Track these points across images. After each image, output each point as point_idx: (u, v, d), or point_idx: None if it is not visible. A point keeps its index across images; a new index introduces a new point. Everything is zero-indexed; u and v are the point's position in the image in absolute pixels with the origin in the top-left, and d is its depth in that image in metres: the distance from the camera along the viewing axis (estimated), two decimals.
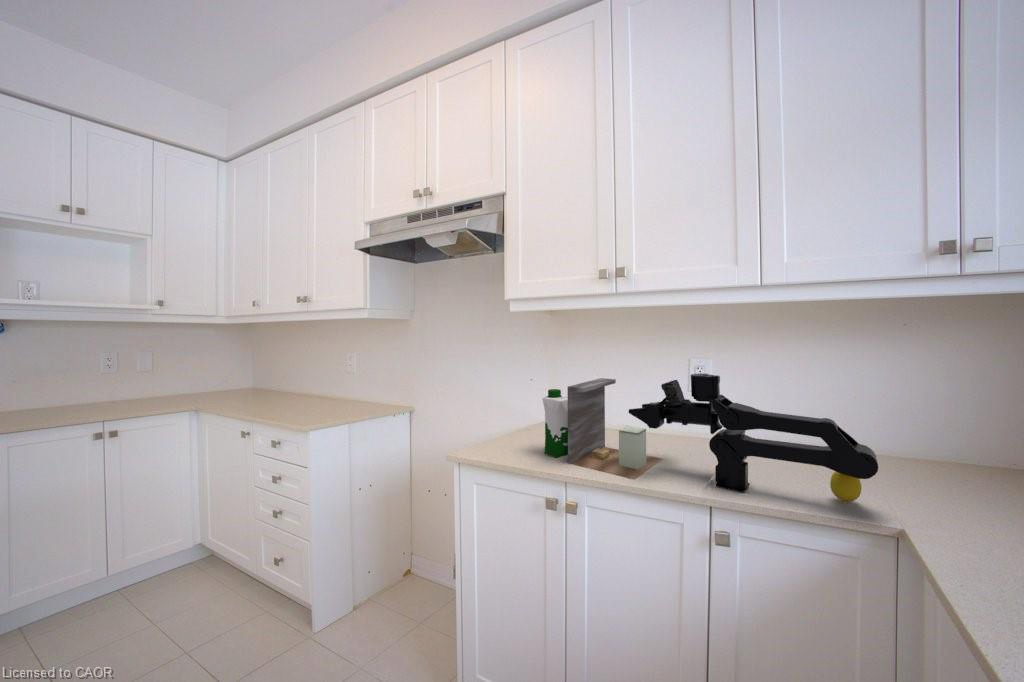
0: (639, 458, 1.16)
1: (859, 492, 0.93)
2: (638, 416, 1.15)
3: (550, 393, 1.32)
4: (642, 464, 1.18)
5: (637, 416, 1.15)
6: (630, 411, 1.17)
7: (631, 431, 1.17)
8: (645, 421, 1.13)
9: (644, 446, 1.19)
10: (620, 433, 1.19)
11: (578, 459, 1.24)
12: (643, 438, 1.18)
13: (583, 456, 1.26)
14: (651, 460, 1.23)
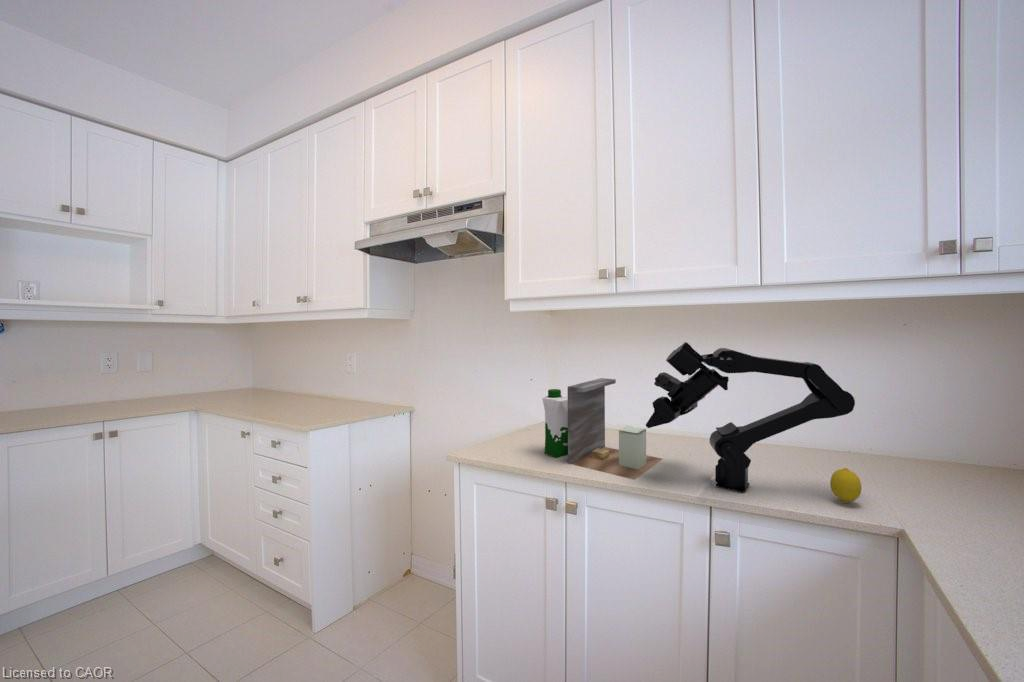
0: (639, 458, 1.16)
1: (859, 492, 0.93)
2: (656, 423, 1.09)
3: (550, 393, 1.32)
4: (642, 464, 1.18)
5: (655, 424, 1.09)
6: (647, 425, 1.11)
7: (631, 431, 1.17)
8: (664, 422, 1.07)
9: (644, 446, 1.19)
10: (620, 433, 1.19)
11: (578, 459, 1.24)
12: (643, 438, 1.18)
13: (583, 456, 1.26)
14: (651, 460, 1.23)
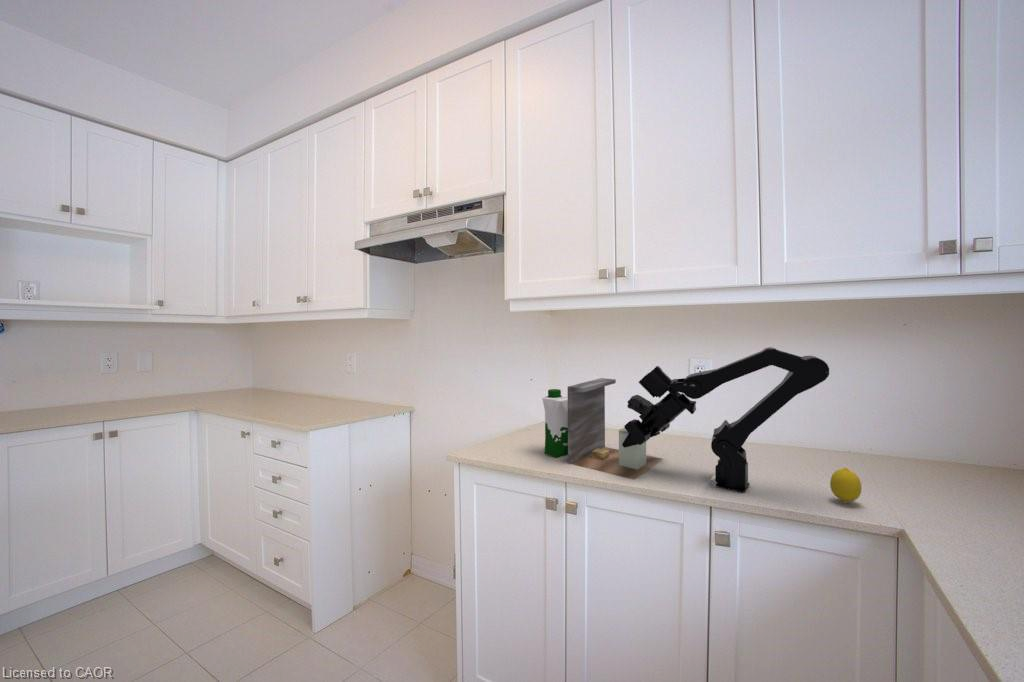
0: (639, 458, 1.16)
1: (859, 492, 0.93)
2: (631, 443, 1.15)
3: (550, 393, 1.32)
4: (642, 464, 1.18)
5: (631, 444, 1.15)
6: (624, 445, 1.18)
7: None
8: None
9: (644, 446, 1.19)
10: (620, 433, 1.19)
11: (578, 459, 1.24)
12: None
13: (583, 456, 1.26)
14: (651, 460, 1.23)
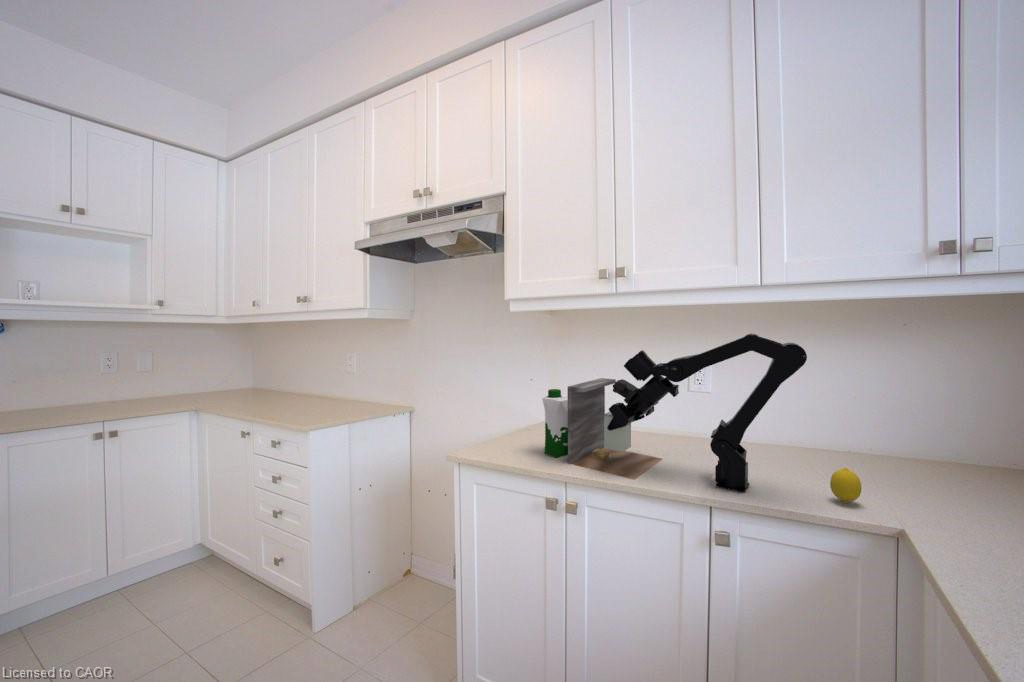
0: (624, 441, 1.19)
1: (859, 492, 0.93)
2: (616, 426, 1.18)
3: (550, 393, 1.32)
4: (627, 447, 1.21)
5: (615, 427, 1.18)
6: (609, 428, 1.20)
7: None
8: None
9: (629, 429, 1.21)
10: (606, 417, 1.21)
11: (578, 459, 1.24)
12: None
13: (583, 456, 1.26)
14: (651, 460, 1.23)
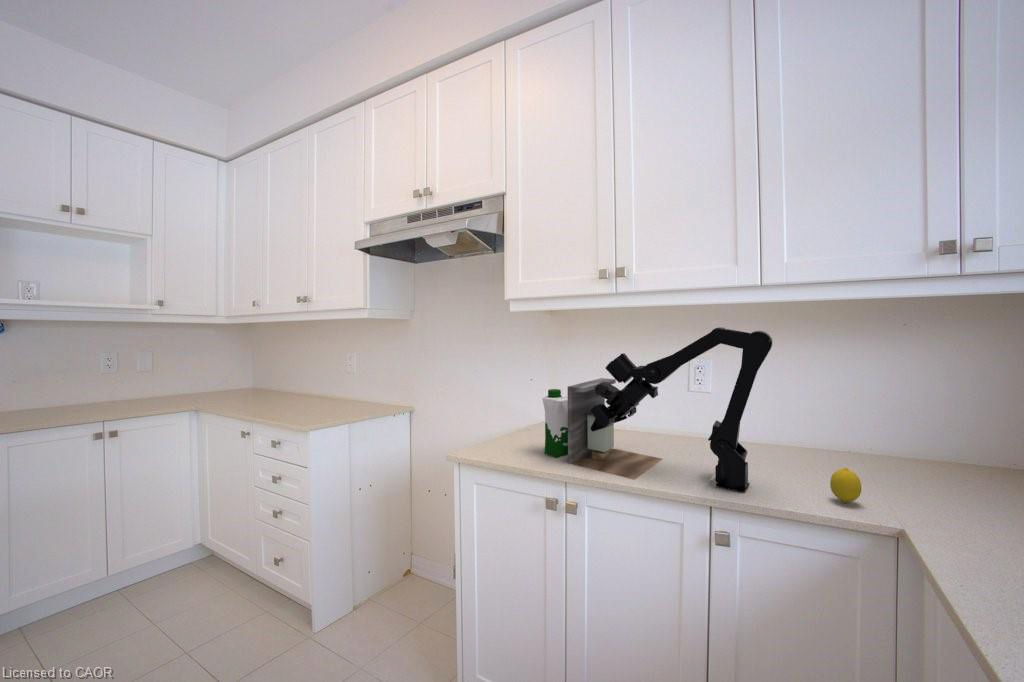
0: (606, 441, 1.23)
1: (859, 492, 0.93)
2: (598, 427, 1.21)
3: (550, 393, 1.32)
4: (609, 447, 1.24)
5: (598, 427, 1.21)
6: (592, 429, 1.24)
7: None
8: None
9: (611, 430, 1.25)
10: (589, 418, 1.25)
11: (578, 459, 1.24)
12: None
13: (583, 456, 1.26)
14: (651, 460, 1.23)
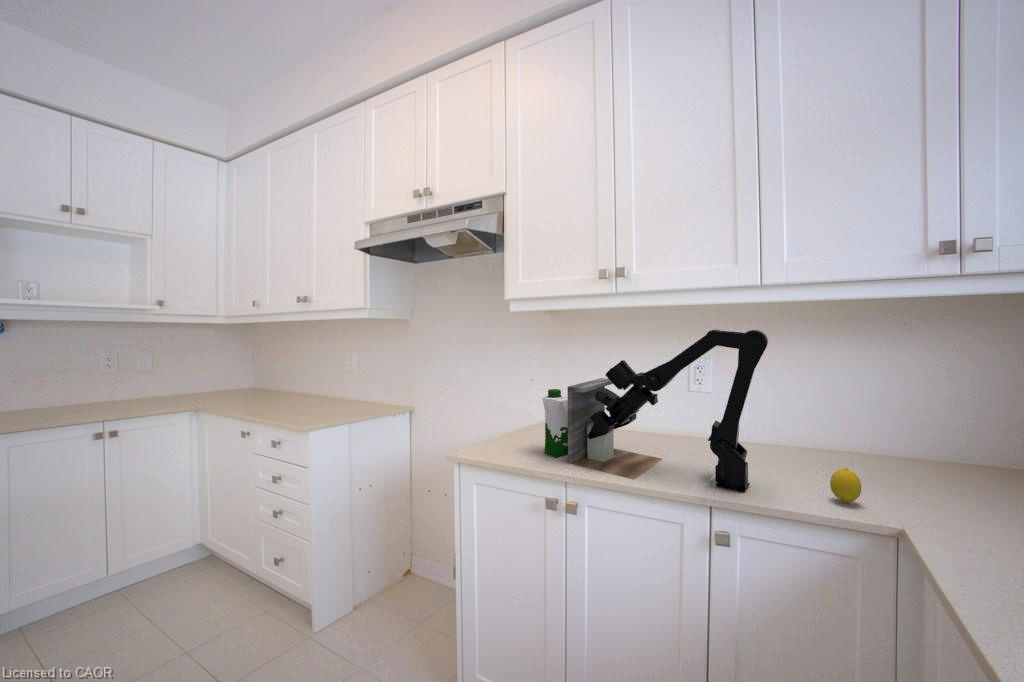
0: (606, 451, 1.23)
1: (859, 492, 0.93)
2: (595, 435, 1.20)
3: (550, 393, 1.32)
4: (609, 457, 1.24)
5: (595, 435, 1.20)
6: (589, 437, 1.23)
7: None
8: (601, 434, 1.18)
9: (611, 440, 1.25)
10: (589, 428, 1.25)
11: (578, 459, 1.24)
12: (610, 432, 1.25)
13: (583, 456, 1.26)
14: (651, 460, 1.23)
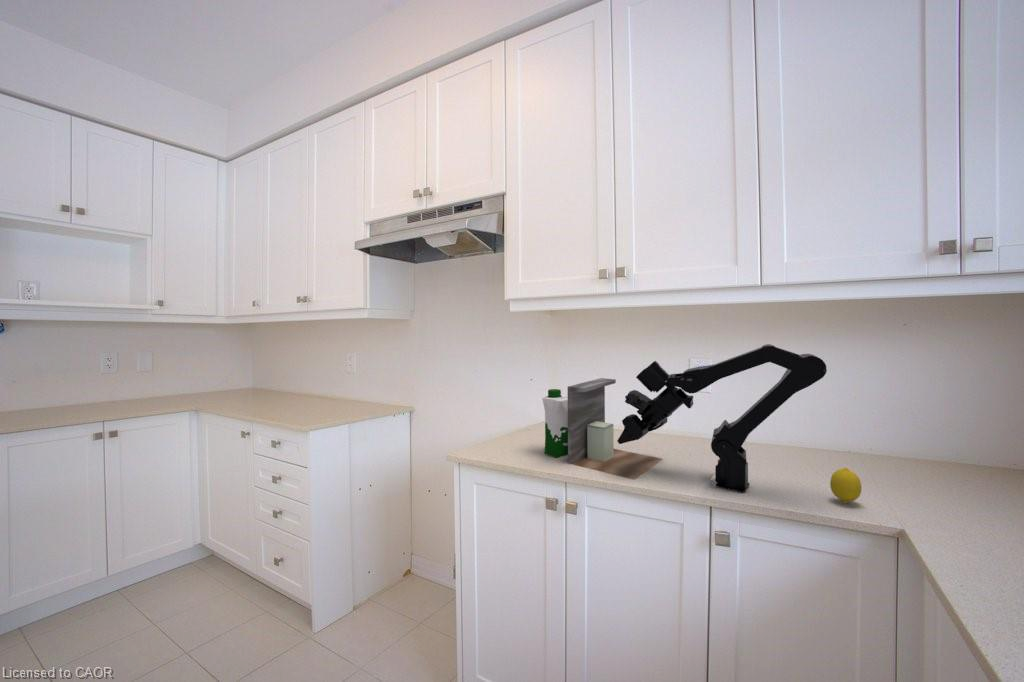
0: (606, 451, 1.23)
1: (859, 492, 0.93)
2: (626, 439, 1.14)
3: (550, 393, 1.32)
4: (609, 457, 1.24)
5: (626, 440, 1.14)
6: (619, 441, 1.17)
7: (598, 426, 1.24)
8: (633, 438, 1.12)
9: (611, 440, 1.25)
10: (589, 428, 1.25)
11: (578, 459, 1.24)
12: (610, 432, 1.25)
13: (583, 456, 1.26)
14: (651, 460, 1.23)
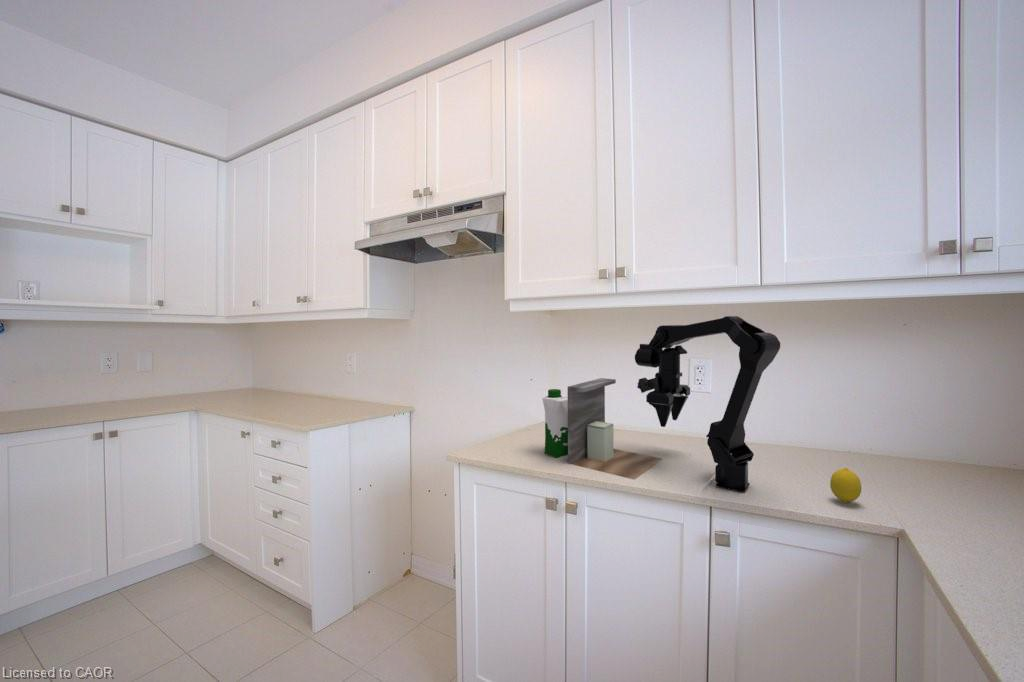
0: (606, 451, 1.23)
1: (859, 492, 0.93)
2: (665, 416, 1.16)
3: (550, 393, 1.32)
4: (609, 457, 1.24)
5: (665, 417, 1.16)
6: (663, 425, 1.18)
7: (598, 426, 1.24)
8: (668, 409, 1.15)
9: (611, 440, 1.25)
10: (589, 428, 1.25)
11: (578, 459, 1.24)
12: (610, 432, 1.25)
13: (583, 456, 1.26)
14: (651, 460, 1.23)
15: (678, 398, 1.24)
